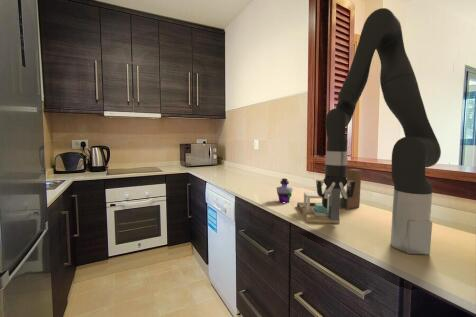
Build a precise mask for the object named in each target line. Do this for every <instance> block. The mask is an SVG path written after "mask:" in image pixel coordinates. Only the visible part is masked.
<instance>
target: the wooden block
mask: <svg viewBox="0 0 476 317" xmlns="http://www.w3.org/2000/svg"><path fill="white" fill-rule="evenodd" d="M346 178H347V181H354V182H355V187H354V192H353V197H349V198H347V206H346V207H345V210H351V209H356V208H360V205H361V202H360V201H361V184H362V170H361V169H356V168H351V169H348V168H347V177H346ZM345 191H346V194H347V191H348V185H347V184H346V189H345ZM341 198H342V197H340V208H341Z"/></svg>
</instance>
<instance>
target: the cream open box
mask: <svg viewBox="0 0 476 317" xmlns="http://www.w3.org/2000/svg"><path fill="white" fill-rule="evenodd" d="M311 199H322V197H320V196H319V195H318V194H317V191H315V192H313V191H311V192H310V191H306V192H304V191H303V203H304V207H306V203H307V211H310V203H311ZM327 199H328V204H327V206H328V207H327V209H328V210H329V195H328V197H327Z"/></svg>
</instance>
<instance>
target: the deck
mask: <svg viewBox="0 0 476 317" xmlns="http://www.w3.org/2000/svg"><path fill="white" fill-rule="evenodd" d="M315 203H316V202H310V211H307V203H306V207H304V202H303V201H302V202H297V203H296V206H297V208H298V210H299V212H301V214H302V215H303V217H304V218H305V220H306V221H307V222H308V223H314V222H315V223H321V224H323V223H324V224H340V222H341V220H340V219H341V218H340V217H339V221H336V220H330V219H329V218H328V217H321V216H314V215H313V213H312V212H311V208H315Z"/></svg>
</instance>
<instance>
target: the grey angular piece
mask: <svg viewBox="0 0 476 317" xmlns="http://www.w3.org/2000/svg"><path fill="white" fill-rule="evenodd" d="M328 196H329V210H328V209H327V212H316V211H315V210H314V208H311V212H312V213H313V215H314V216H321V217H328V218H329V219H330V220H336V221H339V218H340V208H341V207H340V198H341V193H340V189H332V191H331V193H330V194H329V195H328Z"/></svg>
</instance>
